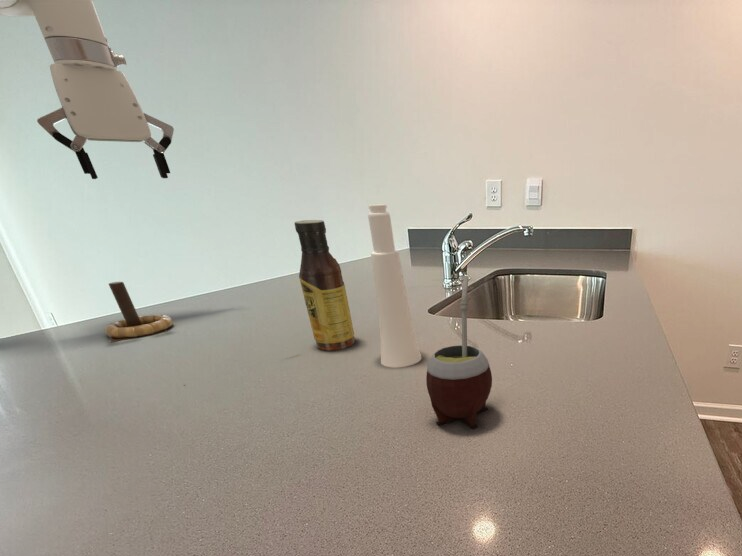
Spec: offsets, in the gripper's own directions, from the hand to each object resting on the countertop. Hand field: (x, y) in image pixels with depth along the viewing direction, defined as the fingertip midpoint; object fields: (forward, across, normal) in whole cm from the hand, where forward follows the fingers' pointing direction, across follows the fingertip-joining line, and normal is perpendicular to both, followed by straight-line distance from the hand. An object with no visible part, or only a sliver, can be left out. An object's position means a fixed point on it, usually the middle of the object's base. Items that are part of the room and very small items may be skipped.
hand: (131, 178), depth 73 cm
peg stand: (+26, +8, +5) cm, 28 cm away
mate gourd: (+27, -16, +72) cm, 79 cm away
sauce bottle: (+27, -15, +38) cm, 49 cm away
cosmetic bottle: (+27, -20, +52) cm, 62 cm away
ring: (+25, +8, +5) cm, 26 cm away
